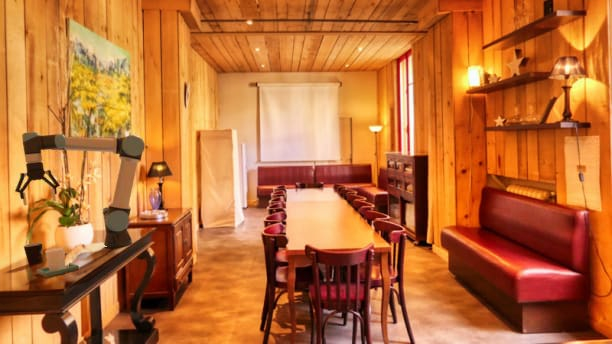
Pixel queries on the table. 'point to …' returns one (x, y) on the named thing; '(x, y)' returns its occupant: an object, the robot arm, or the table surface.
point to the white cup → (55, 259)
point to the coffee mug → (34, 253)
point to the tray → (47, 273)
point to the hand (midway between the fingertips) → (40, 202)
